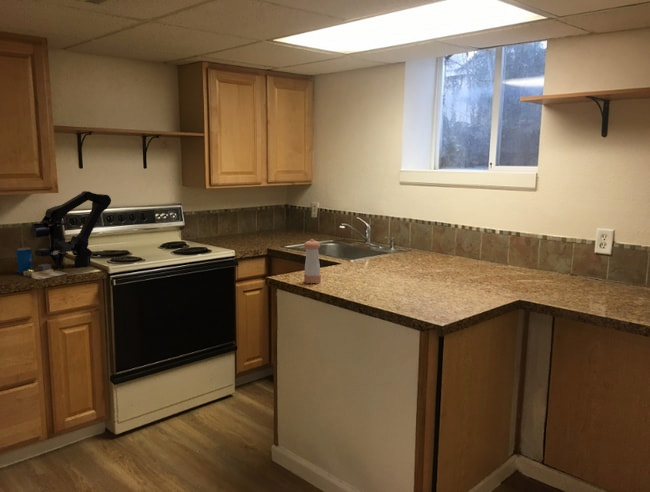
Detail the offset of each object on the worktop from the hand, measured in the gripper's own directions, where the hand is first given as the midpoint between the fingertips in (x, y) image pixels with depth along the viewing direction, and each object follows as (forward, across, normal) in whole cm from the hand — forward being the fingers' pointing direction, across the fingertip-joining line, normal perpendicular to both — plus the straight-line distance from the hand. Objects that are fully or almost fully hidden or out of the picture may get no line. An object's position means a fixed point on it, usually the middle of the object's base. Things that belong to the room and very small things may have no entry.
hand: (59, 267), depth 263 cm
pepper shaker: (+3, +49, -112) cm, 122 cm away
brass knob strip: (+1, -14, 0) cm, 14 cm away
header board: (+2, -8, -2) cm, 9 cm away
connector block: (+1, -7, 0) cm, 7 cm away
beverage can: (+2, -10, +11) cm, 15 cm away
